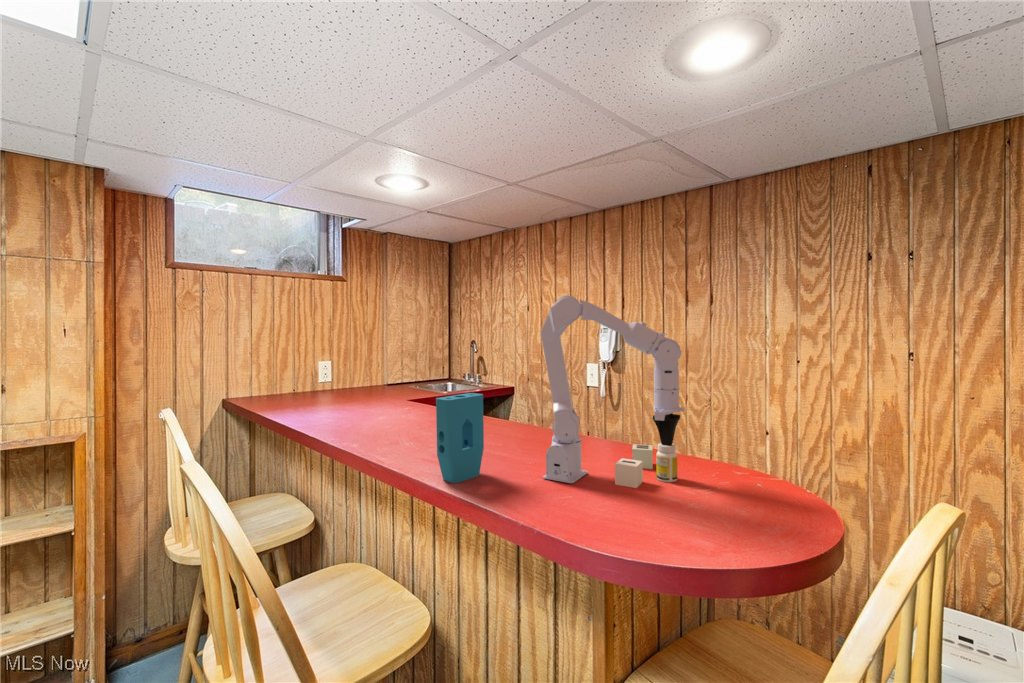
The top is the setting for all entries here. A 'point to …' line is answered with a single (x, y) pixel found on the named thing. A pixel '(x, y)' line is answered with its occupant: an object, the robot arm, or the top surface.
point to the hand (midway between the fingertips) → (666, 445)
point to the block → (460, 436)
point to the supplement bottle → (666, 463)
